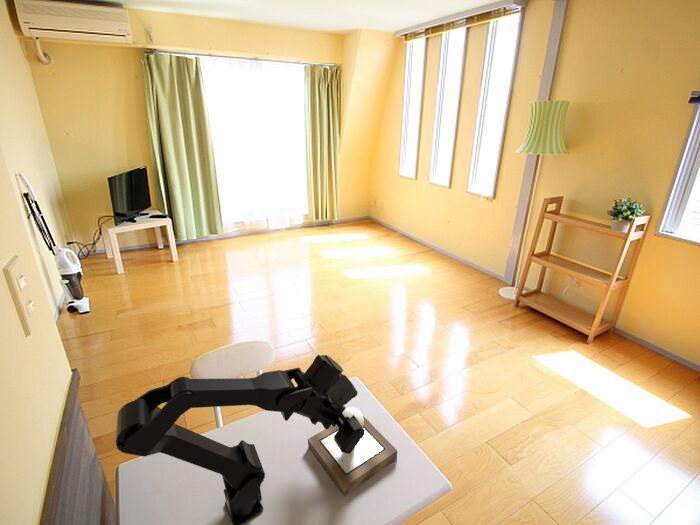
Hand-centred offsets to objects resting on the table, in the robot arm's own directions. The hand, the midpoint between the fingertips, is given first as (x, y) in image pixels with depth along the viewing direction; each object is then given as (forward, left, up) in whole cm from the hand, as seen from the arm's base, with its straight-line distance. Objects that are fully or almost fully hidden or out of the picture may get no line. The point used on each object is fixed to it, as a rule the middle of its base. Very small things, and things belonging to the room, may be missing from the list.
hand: (355, 422), depth 89 cm
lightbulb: (-1, 0, -7) cm, 7 cm away
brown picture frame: (-1, 0, -10) cm, 10 cm away
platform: (-1, 0, -9) cm, 9 cm away
